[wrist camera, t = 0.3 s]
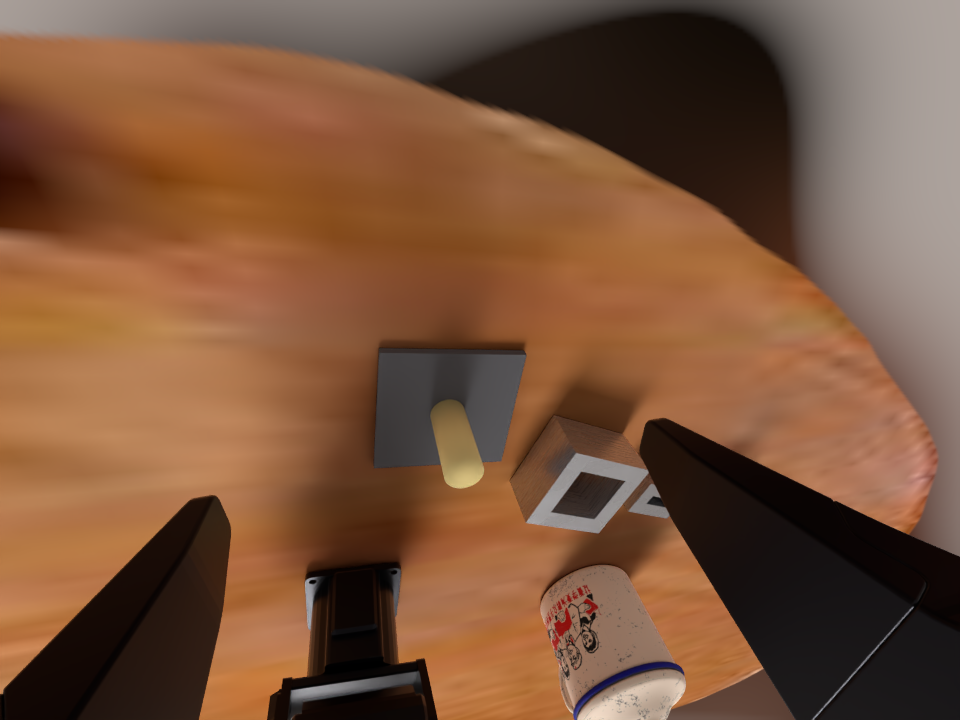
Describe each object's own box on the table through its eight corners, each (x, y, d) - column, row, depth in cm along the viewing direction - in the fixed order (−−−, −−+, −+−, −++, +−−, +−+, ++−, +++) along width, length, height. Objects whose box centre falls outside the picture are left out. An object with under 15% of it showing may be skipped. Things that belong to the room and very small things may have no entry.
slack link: (671, 468, 35) (690, 492, 33) (649, 493, 36) (667, 518, 34) (633, 459, 33) (651, 484, 31) (612, 486, 34) (627, 511, 32)
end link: (623, 434, 31) (650, 470, 28) (577, 493, 34) (598, 533, 31) (553, 414, 29) (576, 452, 26) (509, 481, 31) (525, 522, 28)
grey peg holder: (499, 455, 30) (524, 521, 25) (373, 462, 27) (377, 535, 23) (523, 350, 26) (558, 406, 21) (378, 348, 23) (384, 410, 19)
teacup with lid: (566, 557, 38) (638, 721, 28) (647, 563, 42) (735, 710, 32) (506, 638, 43) (550, 801, 33) (583, 637, 46) (643, 783, 37)
